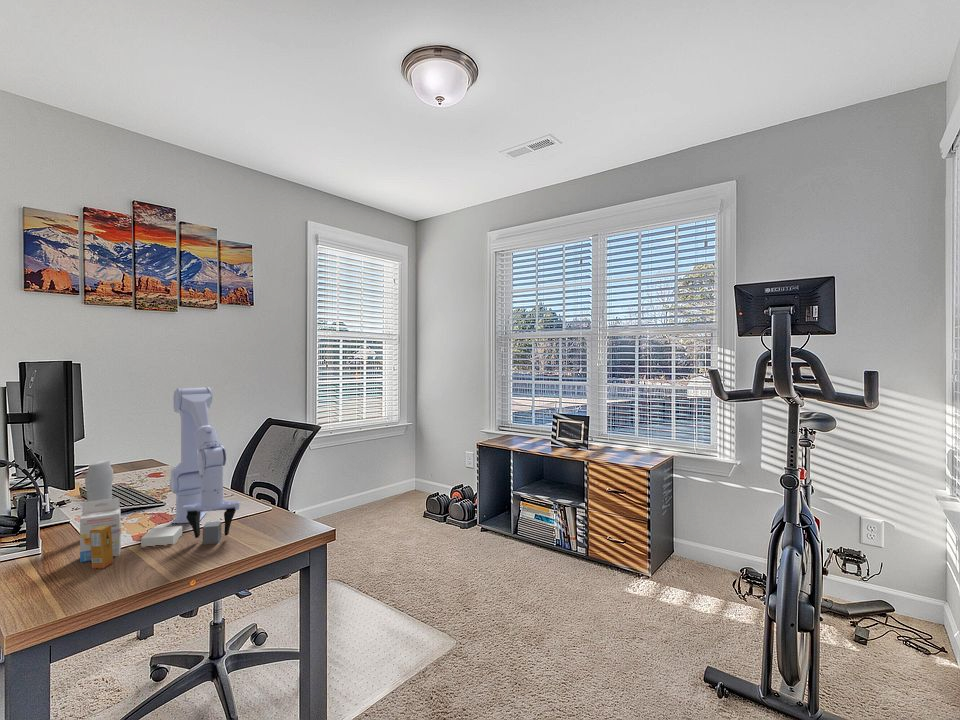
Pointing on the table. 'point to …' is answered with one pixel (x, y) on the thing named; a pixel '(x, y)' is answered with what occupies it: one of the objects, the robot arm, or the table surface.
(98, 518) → the ink box
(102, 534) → the supplement box
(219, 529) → the charcoal block
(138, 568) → the table surface
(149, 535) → the base block
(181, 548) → the table surface
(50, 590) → the table surface
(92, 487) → the tall pale column
